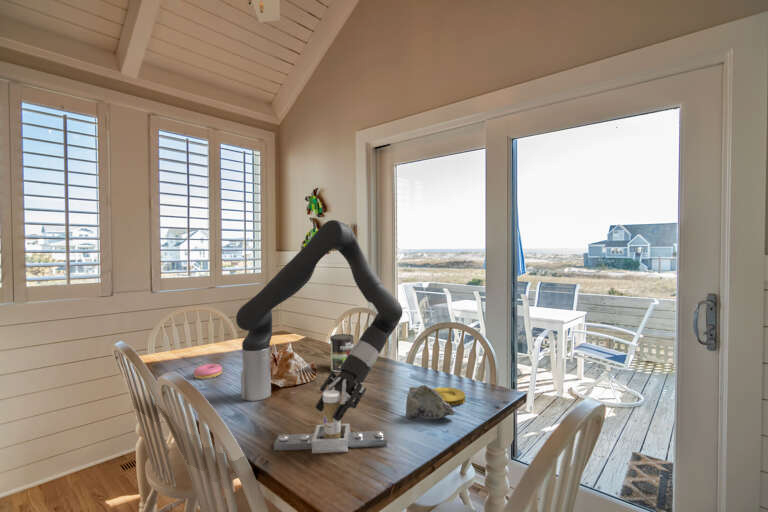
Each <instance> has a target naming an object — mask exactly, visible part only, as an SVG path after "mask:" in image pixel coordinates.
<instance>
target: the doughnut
mask: <svg viewBox="0 0 768 512" xmlns="http://www.w3.org/2000/svg"><path fill="white" fill-rule="evenodd" d="M222 373H223V367H222V365H220V364H219V363H208V364H202V365H199V366H198V367H196V368H195V369H194V370H193V375H194V377H195V379H198V380H199V379H200V380H207V379H206V378H210V379H213V378H212V377H214V378H216V376H217V377H218V375H219V376H220V375H221V374H222Z"/></svg>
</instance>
